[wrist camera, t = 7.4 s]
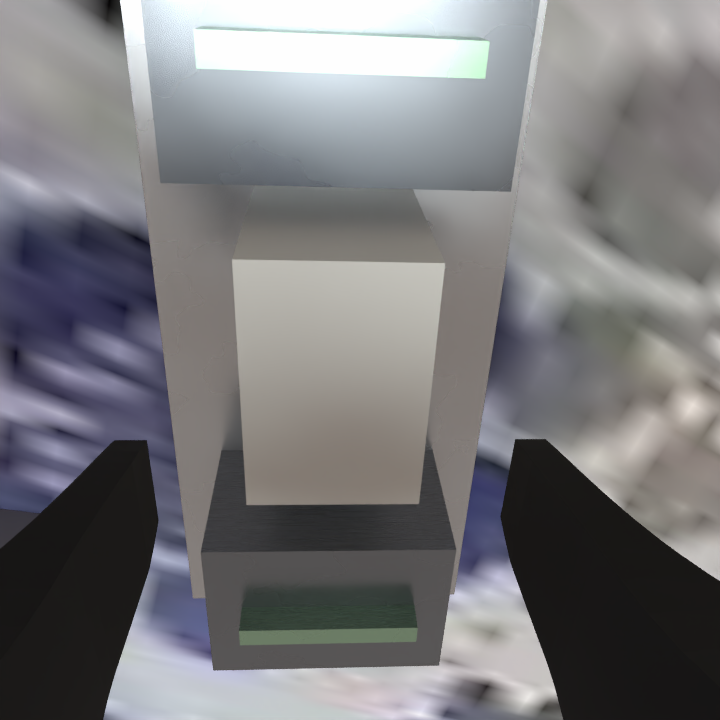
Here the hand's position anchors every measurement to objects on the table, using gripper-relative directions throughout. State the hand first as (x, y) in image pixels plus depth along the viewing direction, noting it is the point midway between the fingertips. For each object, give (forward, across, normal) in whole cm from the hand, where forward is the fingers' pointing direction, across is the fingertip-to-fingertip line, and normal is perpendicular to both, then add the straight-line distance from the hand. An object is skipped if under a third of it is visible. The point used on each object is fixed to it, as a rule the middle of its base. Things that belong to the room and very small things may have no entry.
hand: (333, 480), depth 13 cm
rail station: (+8, 0, 0) cm, 8 cm away
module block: (+8, 0, -1) cm, 8 cm away
